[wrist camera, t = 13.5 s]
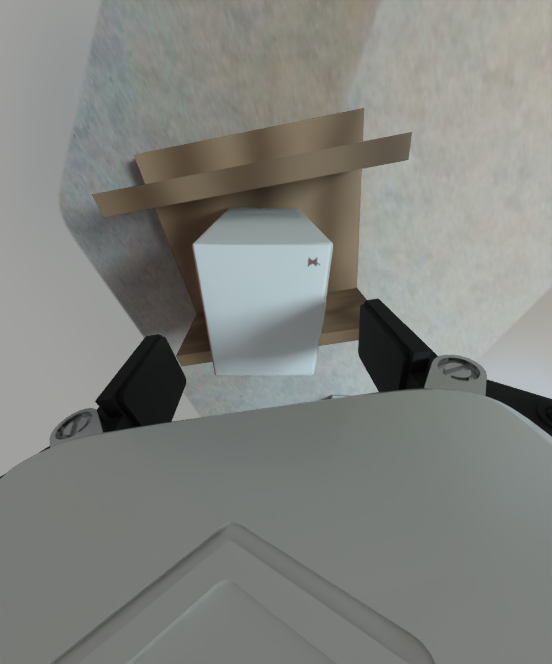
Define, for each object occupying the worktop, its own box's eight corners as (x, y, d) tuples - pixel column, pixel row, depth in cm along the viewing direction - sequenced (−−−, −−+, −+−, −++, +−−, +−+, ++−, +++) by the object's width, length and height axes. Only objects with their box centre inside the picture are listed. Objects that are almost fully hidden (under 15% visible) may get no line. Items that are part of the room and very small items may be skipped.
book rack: (357, 112, 18) (419, 69, 11) (351, 309, 28) (382, 356, 21) (141, 156, 19) (65, 143, 12) (209, 331, 29) (190, 384, 22)
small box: (228, 206, 20) (187, 239, 10) (300, 207, 21) (338, 240, 10) (235, 291, 25) (213, 379, 14) (294, 291, 25) (316, 377, 14)
